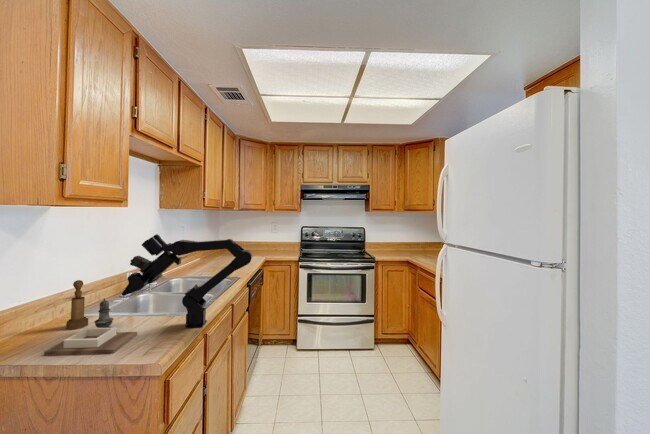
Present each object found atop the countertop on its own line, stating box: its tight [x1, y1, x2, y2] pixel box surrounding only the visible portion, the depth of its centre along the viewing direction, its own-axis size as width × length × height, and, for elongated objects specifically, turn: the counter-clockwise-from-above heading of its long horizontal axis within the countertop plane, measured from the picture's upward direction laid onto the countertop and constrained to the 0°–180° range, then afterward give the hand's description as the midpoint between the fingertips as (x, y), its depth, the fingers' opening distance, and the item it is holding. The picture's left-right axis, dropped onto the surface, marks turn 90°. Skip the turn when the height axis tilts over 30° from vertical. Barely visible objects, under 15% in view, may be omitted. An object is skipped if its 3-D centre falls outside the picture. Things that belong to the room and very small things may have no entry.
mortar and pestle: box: [65, 279, 89, 330], centre depth 112 cm, size 7×6×18 cm
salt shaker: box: [93, 297, 114, 328], centre depth 109 cm, size 6×6×12 cm
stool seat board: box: [43, 327, 138, 356], centre depth 97 cm, size 20×14×4 cm
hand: (128, 291), depth 111 cm, fingers open, 9 cm apart
